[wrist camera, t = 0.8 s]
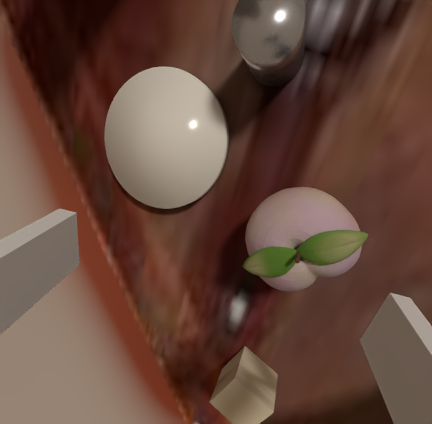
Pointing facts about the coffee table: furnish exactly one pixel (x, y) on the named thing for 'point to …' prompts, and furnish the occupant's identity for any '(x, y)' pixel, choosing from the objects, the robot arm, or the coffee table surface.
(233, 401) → the birch cube
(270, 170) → the coffee table surface
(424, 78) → the coffee table surface
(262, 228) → the decorative fruit
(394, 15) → the coffee table surface
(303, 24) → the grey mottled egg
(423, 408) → the robot arm
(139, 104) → the cream plate
